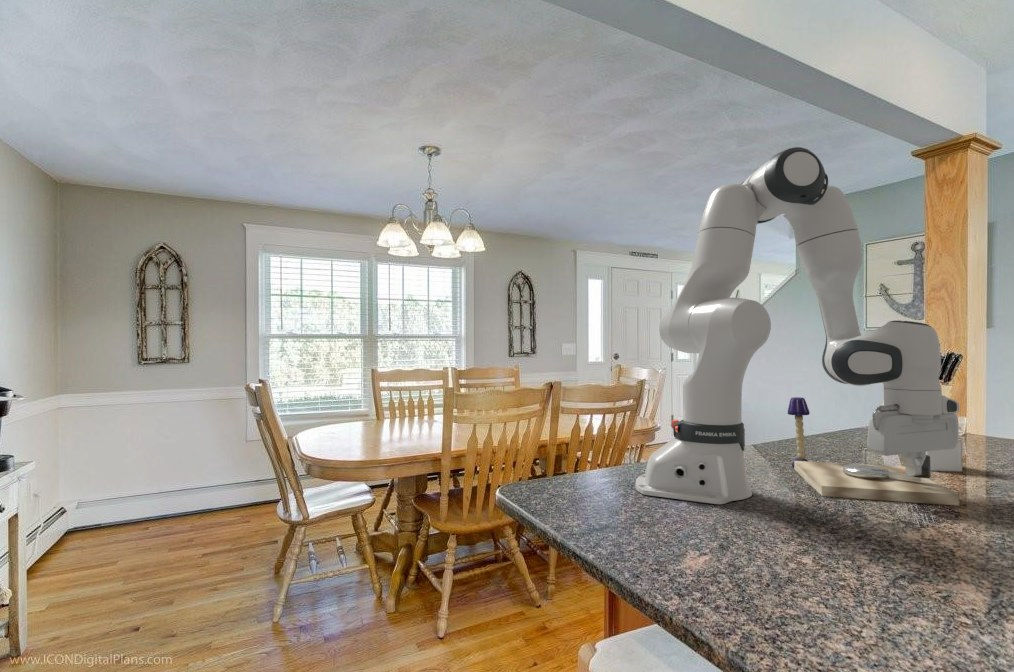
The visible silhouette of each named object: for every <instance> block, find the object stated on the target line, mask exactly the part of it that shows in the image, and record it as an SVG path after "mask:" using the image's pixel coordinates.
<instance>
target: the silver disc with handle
mask: <svg viewBox="0 0 1014 672" xmlns="http://www.w3.org/2000/svg"><path fill="white" fill-rule="evenodd" d="M847 464H848V465H844V466H843V472H844V473H846V474H849V475H853V476H857V477H864V478H874V479H883V478H896V479H903V480H910V481H917V482H921V478H928V479H930V478H931V476H932V475H931V474H932V473H931V472H932V471H931V468H930V456H928V455H926V458H925V460H924V462H923V465H922V466H921V475H915V476H912V475H908V474H906V473H899V472H891V471H889V470H887V469H884V468H881V467H876V466H870V465H871V464H866V465H860V464H861V463H847Z"/></svg>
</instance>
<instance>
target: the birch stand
mask: <svg viewBox="0 0 1014 672" xmlns="http://www.w3.org/2000/svg"><path fill="white" fill-rule="evenodd" d="M793 461H794V460H793ZM848 464H849V463H847V462H846V463H844V462H829V461H828V462H826V461H825V462H824V461H809V460H808V461H794V467H793V468H794V469H793V470H795V472H796V473H798V474H799V475H800V476H801V477H802V478H803V480H805V481H806V482H807V483H808V484H809V485H810V486H811V487H812V488H813V489H814V490H815V491H816V492H817V493H819V495H820V496H821V497H830V498H831V497H833V498H846V499H847V498H848V499H861V500H874V501H886V502H887V501H888V502H902V503H903V502H904V503H916V504H917V503H918V504H929V505H930V504H931V505H945V506H946V505H947V506H959V507H960V494H958V493H957V492H955V491H952V490H951V489H949V488H947V487H945V486H943V485H942V484H941V485H940V483H937V482H935V481H933V480H931V479H930V478H921V482H917V481H910V480H903V479H896V478H883V479H874V478H864V477H857V476H853V475H849V474H846V473H844V472H843V466H844V465H848ZM859 464H860V465H867V464H866V463H865V464H863V463H859ZM869 465H870V466H876V467H881V468H884V469H887V470H889V471H891V472H899V473H906V472H905V465H882V464H881V465H880V464H869Z"/></svg>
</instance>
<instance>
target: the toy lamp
mask: <svg viewBox="0 0 1014 672" xmlns="http://www.w3.org/2000/svg"><path fill="white" fill-rule="evenodd" d="M807 404H808V403H807V401H806V398H805V397H798V396H797V397H795V396H794V397H791V398H790V400H789V404H788V409H787V415H791V416H794V424H795V425H794V426H795V433H796V434H795V438H796V441H795V444H796V446H797V447H796V451H797V458H795V459H793V461H792V463H791V467H792V468H794V461H809V460H808V459H806V457H807V456H806V453H805V452H806V448H805V445H806V444H805V443H806V442H805V440H804V439H805V434H804V432H805V431H804V422H803V421H804V416H808V415H810V414H811V413H810V409H809V407H808V405H807Z"/></svg>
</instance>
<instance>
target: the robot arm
mask: <svg viewBox="0 0 1014 672" xmlns="http://www.w3.org/2000/svg"><path fill="white" fill-rule="evenodd" d="M780 215H783V217H784V218H785V219H786V220H787V221H788V222H789V224H790V226H791V227H792V230H793V233H794V239H795V245H796V249H797V252H798V253H797V254H798V256H799V259H800V262H801V265H802V267H803V270H804V271H805V274H806V275H807V277H808V280H809V283H810V285H811V286H812V288H813V291H814V294H815V295H816V298H817V301H818V304H819V310H820V314H821V319H822V323H823V327H824V331H825V345H824V349H823V352H822V356H821V365H822V367H823V370H824V373H826V374H827V376H828V377H830V379H832V380H834V381H836V382H838V383H840V384H843V385H844V384H845V385H850V386H854V387H855V386H856V387H857V386H858V387H863V386H870V385H874V384H881V383H882V384H883V405H878V406H877V407H876V409H875V410H874V411H873V412H872V415H871V417H870V419H869V423H868V429H867V431H868V432H867V443H866V445H867V449H868V450H869V452H870V453H872V454H875V455H880V456H887V457H889V456H898V455H900V459H901V461H902V462H903V464H904V467H905V472H906V474H908V475H912V476H915V475H921V466H922V465H923V462H924V460H925V458H926V452H927V451H937V450H946V449H954V448H955V447H956V445H957V443H958V440H959V434H960V433H959V426H960V425H959V418H958V415H957V413H959V412H960V403H959V401H957V400H954V399H952V398H950V397H947V396H945V395H943V394H942V393H943V392H942V386H941V383H940V380H939V379H940V378H939V376H940V371H941V367H942V359H941V358H942V357H941V356H942V355H941V345H940V340H939V336H938V333H937V331H936V329H935V328H933V327H932V326H931V325H930V324H927V323H924V322H920V321H919V322H918V321H910V320H899V319H898V320H889V321H887V322H886V323H885V324H884V325H882V326H880V327H878V328H876V329H873V330H872V331H869V332H866V333H864V334H862V333H861V330H860V327H859V322H858V317H857V312H856V307H855V303H854V293H853V292H854V287H855V282H856V278H857V275H858V274H859V272H860V269H861V267H862V263H863V262H862V261H863V259H862V258H863V254H862V251H863V250H862V241H861V237H860V231H859V228H858V225H857V221H856V218H855V215H854V213H853V211H852V208H851V206H850V204H849V201H848V200H847V197H846V196H845V194H844V192H843V191H842V189H841V188H839V187H836V186H834V185H829V176H828V174H827V173H826V171H825V168H824V165H823V163H822V162H821V160H820V158H819V157H818V156H817V155H816V154H815V153H814V152H813V151H811V150H810V149H808V148H805V147H799V146H797V147H796V146H795V147H791V148H786V149H784V150H782V151H780V152H778V153H776V154H775V155H773V156H772V157H770V159H769V160H768V161H766V162H764V163H763V164H762V165H761V166H759V167H757V168H756V169H755V170H754V171H753V172H752V173H751V174H749V176H748V177H747V178H746V179H745V180H744V181H743V182H741V183H726V184H723V185H720V186H718V187H717V188H715V189H714V190H713V191H712V192H711V193H710V195H709V197H708V198H707V201H706V204H705V207H704V211H703V213H702V216H701V218H700V224H699V228H698V232H697V233H698V234H697V239H696V243H695V249H694V253H693V258H692V263H691V268H690V270H689V273H688V276H687V278H686V281H685V282H684V285H683V287H682V289H681V290H680V293H679V295H678V296H677V298H676V300H675V301H674V303H673V304H672V306H671V307H670V308H669V309H668V310H666V311H665V312H664V314H662V316H661V318H660V321H659V324H658V325H659V328H658V329H659V336H660V338H661V340H662V342H663V343H664V344H665V345H666V346H667V347H669V348H670V349H673V350H676V351H678V352H682V353H685V354H698V357H697V362H696V365H695V368H694V370H693V372H692V373H691V374H690V375H689V376H688V377H687V378H686V379H685V380H684V382H683V385H682V403H683V404H682V405H683V406H682V408H683V410H682V411H683V416H682V417H683V419H681V420H679V419H677V418H676V419H673V420H672V421H671V422H670V427H671V428H672V431H673V432H672V433H673V435H672V436H673V438H672V439H670V440H669V441H668V442H666V443H665V444H663V445H662V446H661V447H659V448H658V449H656V450H655V451H653V452H652V453H651V455H650V456H649V457H648V460H647V463H646V467H645V473H643V474H641V475H639V476H638V477H637V478H636V480H635V484H634V485H635V490H636V491H637V492H638V493H640V494H641V495H645V496H652V497H660V498H667V499H676V500H682V501H690V502H697V503H704V504H705V503H706V504H713V505H724V504H727V503H730V502H733V501H741V500H745V499H749V498H751V497H752V495H753V491H752V490H751V486H750V482H749V478H748V474H747V469H746V464H745V457H744V451H745V447H746V430H745V424H744V423H743V421H742V390H743V382H744V377H745V374H746V370H747V368H748V365H749V364H750V362H751V360H752V358H753V356H754V355H755V353H757V351H758V350H759V349H760V348H762V347H763V346H764V345H765V344H766V342H767V341H768V339H769V336H770V334H771V330H772V327H771V326H772V321H771V317H770V314H769V312H768V311H767V309H766V307H765V306H764V305H763V304H762V303H760V302H759V301H757V300H753V299H747V298H743V297H742V298H740V297H731V296H732V294H733V293H734V291H735V290H736V289H737V288H738V287H739V286H740V285H741V284H742V283H743V282H744V281H745V280H746V279H747V277H748V276H749V273H750V268H751V263H752V257H753V252H754V247H755V239H756V233H757V225H759V224H763V223H767V222H771V221H772V220H774V219H776V218H777V217H779V216H780Z"/></svg>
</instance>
